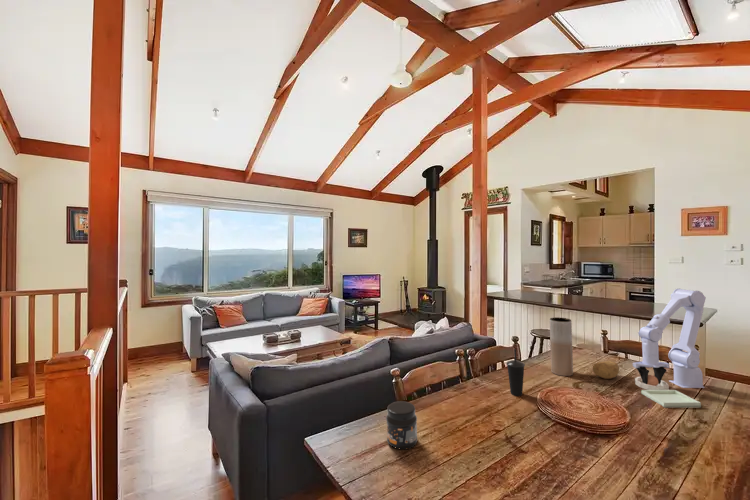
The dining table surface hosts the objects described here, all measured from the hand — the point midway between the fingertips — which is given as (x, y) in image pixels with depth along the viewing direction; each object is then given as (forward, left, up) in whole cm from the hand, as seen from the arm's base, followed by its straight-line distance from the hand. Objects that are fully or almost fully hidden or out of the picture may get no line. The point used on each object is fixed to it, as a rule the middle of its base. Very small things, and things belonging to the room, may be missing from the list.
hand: (651, 383), depth 151 cm
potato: (+13, -11, -2) cm, 17 cm away
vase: (+31, -18, -2) cm, 36 cm away
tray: (+3, +14, -2) cm, 14 cm away
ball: (0, 0, -1) cm, 1 cm away
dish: (0, 0, -2) cm, 2 cm away
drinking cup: (+63, +7, -2) cm, 63 cm away
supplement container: (+115, +45, -2) cm, 124 cm away
